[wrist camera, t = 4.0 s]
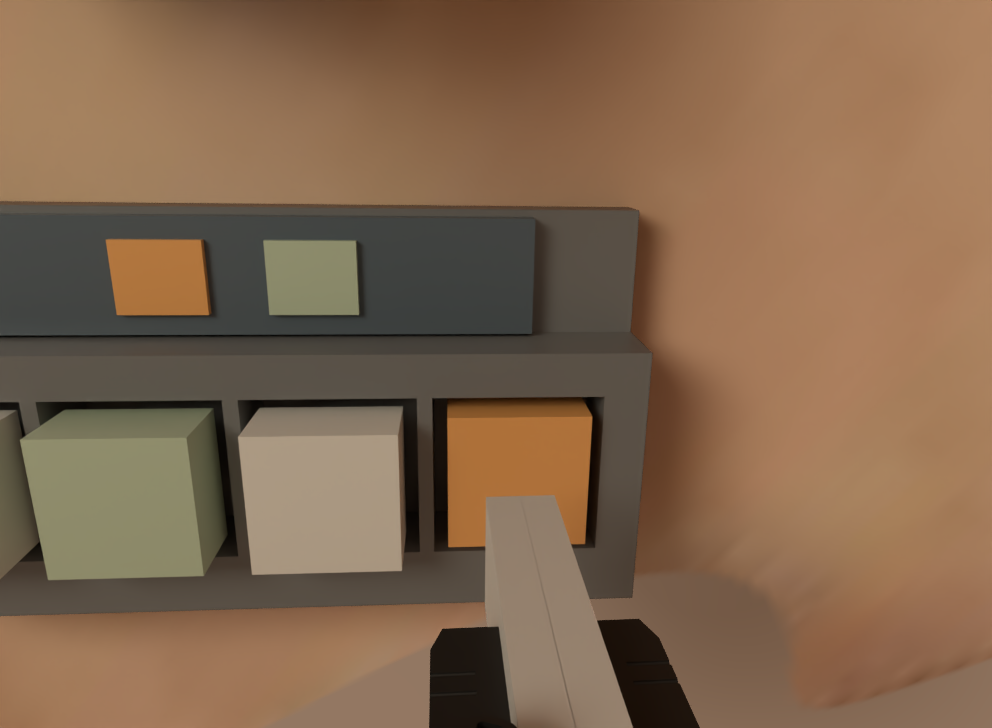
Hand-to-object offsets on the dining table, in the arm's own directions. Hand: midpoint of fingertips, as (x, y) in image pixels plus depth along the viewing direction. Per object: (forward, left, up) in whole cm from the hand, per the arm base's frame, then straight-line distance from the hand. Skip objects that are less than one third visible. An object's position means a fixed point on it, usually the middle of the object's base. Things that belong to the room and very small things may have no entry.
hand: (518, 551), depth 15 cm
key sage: (-10, 0, -4) cm, 11 cm away
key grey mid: (-5, 0, -4) cm, 6 cm away
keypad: (-7, +1, -7) cm, 10 cm away
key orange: (0, 0, -5) cm, 5 cm away
